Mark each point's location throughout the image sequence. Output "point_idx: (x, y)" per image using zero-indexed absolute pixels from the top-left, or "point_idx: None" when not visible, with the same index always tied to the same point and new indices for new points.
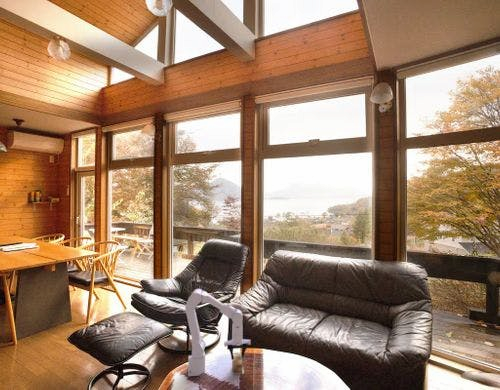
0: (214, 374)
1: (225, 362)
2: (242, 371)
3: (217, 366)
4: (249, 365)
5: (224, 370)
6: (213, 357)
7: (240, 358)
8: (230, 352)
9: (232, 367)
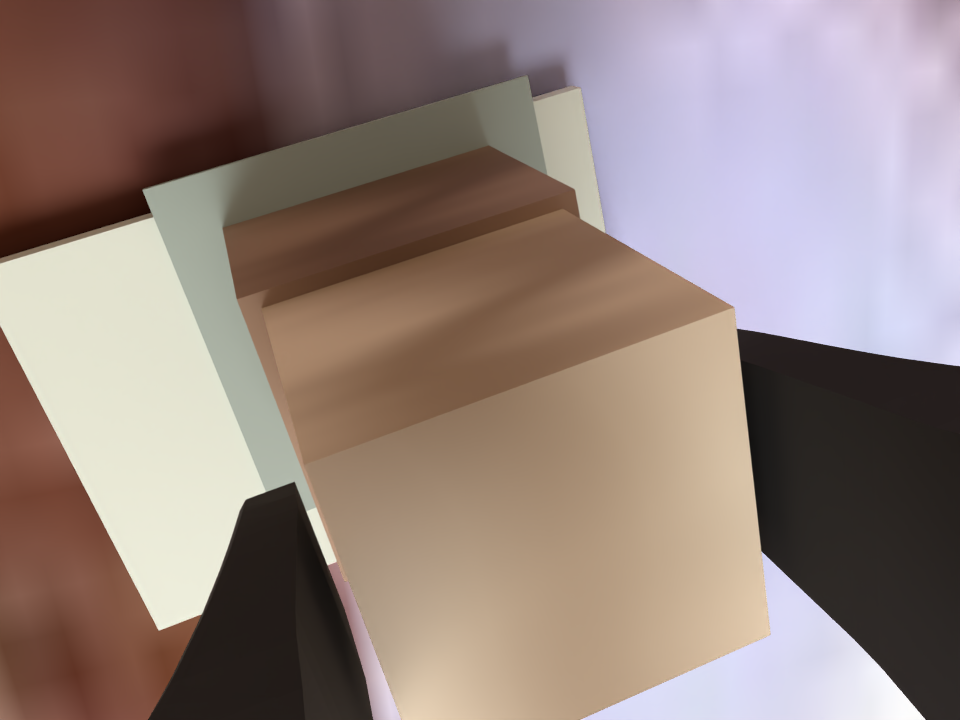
0: (916, 96)
1: None
2: (228, 275)
3: None
4: (99, 648)
5: None
6: (903, 705)
7: (361, 382)
8: None
9: None
